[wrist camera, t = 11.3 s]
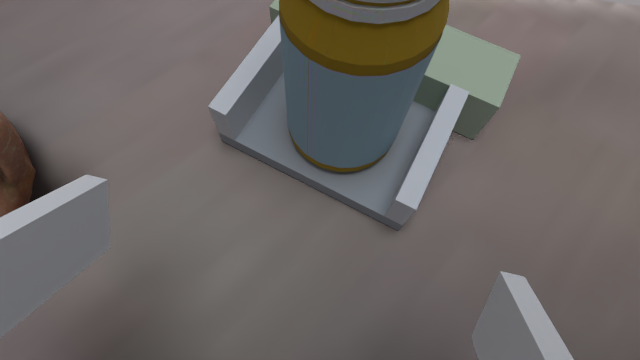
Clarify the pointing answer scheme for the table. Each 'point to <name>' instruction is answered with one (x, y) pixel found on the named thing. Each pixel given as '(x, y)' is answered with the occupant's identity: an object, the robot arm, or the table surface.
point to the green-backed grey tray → (413, 137)
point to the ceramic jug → (13, 169)
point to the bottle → (354, 73)
